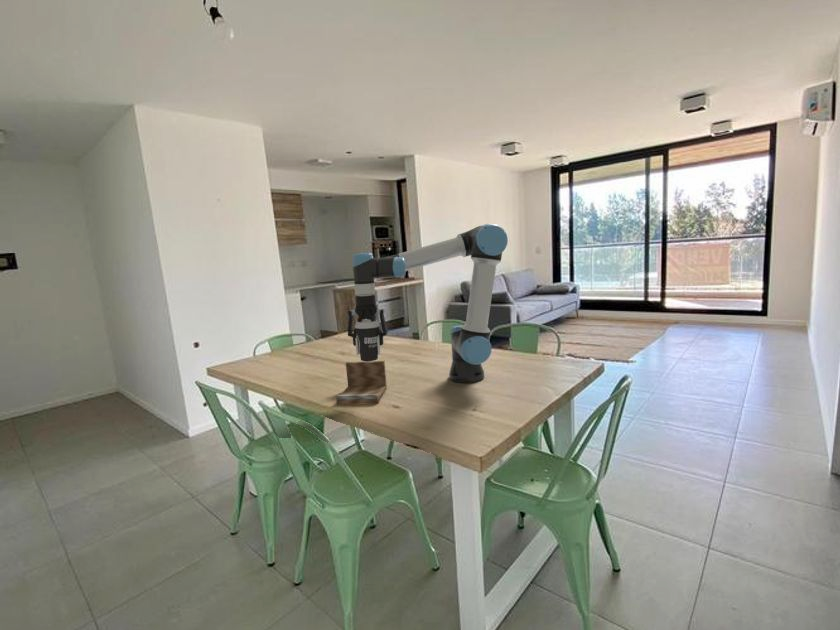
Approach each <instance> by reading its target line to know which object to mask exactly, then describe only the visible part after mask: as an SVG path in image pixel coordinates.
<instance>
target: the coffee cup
mask: <svg viewBox="0 0 840 630" xmlns="http://www.w3.org/2000/svg"><path fill="white" fill-rule="evenodd" d="M380 325H381V324H380V322H379V321H378V319H376V321H373V322H372V321H371V320H370V319H364V320H362V322H357V320H356V322H355V325H354V329H355V328H356V332H357V338H358V345H359V351H360V354H359V356H360V361H361V362H365V361H378V359H379V358H378V357H379V354H378V345H377V337H378V336H379V335H378V333H377V327H378V326H379V327H380Z"/></svg>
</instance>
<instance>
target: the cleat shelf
mask: <svg viewBox="0 0 840 630" xmlns="http://www.w3.org/2000/svg"><path fill="white" fill-rule="evenodd" d="M345 368H346V379H347V387H346V388H345V389H344V390H343V391H342V393H341V394H336V396H335V397H336V405H371V404H373V405H374V404H375V405H378V404H379V403H380V401H381V399H382V398H383V396H384V395H385V393H386V391H387V389H388V386H387V375H386V373H387V372H386V362H385V360H374V361H346V362H345Z"/></svg>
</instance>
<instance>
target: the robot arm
mask: <svg viewBox="0 0 840 630" xmlns="http://www.w3.org/2000/svg"><path fill="white" fill-rule="evenodd" d="M508 239H509V238H508V235H507V233H506V231H505V229H504V228H503V227H502V226H500V225H499V224H495V223H486V224H482V225H479V226H475V227H474V228H472V229H470V230H468V231H465V232H462V233H458V234H457V235H456V236H455V237H452V238H450V239H446V240H443V241H440V242H436V243H432V244H429V245H424V246H421V247H419V248H414V249H411V250H408V251H404V252H399V253H398V254H393V255H389V256H385V257H379V258H378V257H374V256H373V255H374V254H373V253H371V252H367V253H355V254H354V255H352V268H353V269H352V271H353V282H354V283H353V284H354V294H355V295H356V296H355V297H354V299H355V308H354V309H350V310H348V311H347V313H348V326H347V327H348V328H347V336H348V337H351V338H352V343H353V346H354V347H355V351H356V353H355V354H356V355H357V356H360V351H359V345H358V338H357V332H356V328H355V327H354V318H355V315H357V316H358V317H357V320H356V321H357V322H362V320H364V319H370V320H371V321H372V322H373V321H376V320H377V317H376V316H375V315H376V313H377V314H378V316H379V320H380V325H381V327H380V326H378V327H377V333H378V337H377V345H378V355H381V354H382V346H383V345H384V337H385V336H387V335H388V328H387V324H386V318H385V309H384V308H378V307H377V303H376V302H377V301H376V300H377V299H376V295H375V293H376V288H375V286H376V285H375V279H387V278H390V279H391V278H395V279H397V278H403V277H405V276H406V272H407V271H410V270H414V269H418V268H421V267H425V266H428V265H432V264H435V263H439V262H442V261H446V260H450V259H453V258H457V257H460V256H462V257H463V258H465V257H469V256H470V259H471V261H472V262H473V266H472V267H473V269H472V273H471V275H472V276H471V284H470V290H469V296H468V305H467V311H466V317H465V318H466V319H465V323H464V324H462V325H455V326H452V327H451V329H450V338H451V341H450V342H451V356H452V362H451V365H450V369H449V373H448V376H449V377H448V378H449V380H450V381H452V382H456V383H460V384H461V383H466V384H467V383H469V384H470V383H476V382H480V381H482V380H484V379H485V370H484V368H483V365H482V364H483V363H485V362H487V360H488V359H489V358H490V357H491V354H492V344H491V342H490V340H491V339H490V338H491V330H490V328H489V327H488V326H489V317H490V311H491V305H492V299H493V298H492V297H493V296H492V295H493V291H494V284H495V283H494V282H495V278H496V271H497V270H496V269H497V266H498V265H499V264H500V263H502V262H501V261H502V257H503V252H504V251H505V250H506V248H507V246H508V242H509V241H508ZM381 328H382V329H381Z"/></svg>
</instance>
